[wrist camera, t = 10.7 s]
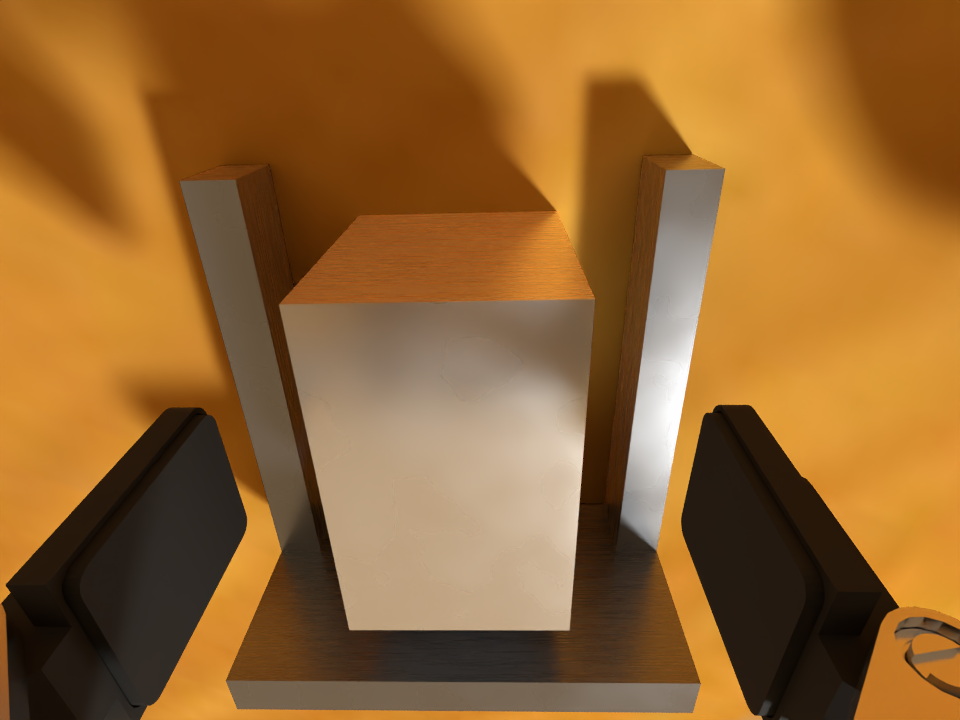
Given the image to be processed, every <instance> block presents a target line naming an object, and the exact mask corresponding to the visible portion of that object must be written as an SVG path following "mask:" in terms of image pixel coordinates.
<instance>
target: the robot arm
mask: <svg viewBox="0 0 960 720" xmlns="http://www.w3.org/2000/svg"><path fill="white" fill-rule="evenodd" d="M681 525H682V532H683V536H684V539H685V542H686V544H687V547H688V550H689V552H690V555H691V557H692V560H693V563H694V565H695V568H696V571H697V573H698V576H699V579H700V581H701V584H702V587H703V589H704V592H705V595H706V597H707V600H708V602H709V605H710V608H711V610H712V613H713V616H714V618H715V621H716V624H717V626H718V629H719V632H720V634H721V637H722V640H723V642H724V645H725V647H726V650H727V653H728V655H729V658H730V661H731V663H732V666H733V669H734V671H735V674H736V677H737V679H738V682H739V685H740V687H741V690H742V692H743V695H744V698H745V700H746V703H747V705H748V707H749V709H750V711H751V712H752V714H754V715H758V716H762V719H763V720H960V621H959V620H957V619H955V618H953V617H951V616H948V615H945V614H943V613H940V612H937V611H935V610H930V609H925V608H919V607H903V608H899V606H898V605H897V603H896V602H895V601H894V599H893V598H892V596H891V595H890V594H889V592H888V591H887V589H886V588H885V587H884V585H883V584H882V582H881V581H880V580H879V578H878V577H877V575H876V574H875V573H874V571H873V570H872V568H871V567H870V566H869V564H868V563H867V561H866V560H865V559H864V557H863V556H862V554H861V553H860V552H859V550H858V549H857V547H856V546H855V545H854V543H853V542H852V540H851V539H850V538H849V536H848V535H847V533H846V532H845V531H844V529H843V528H842V526H841V525H840V524H839V522H838V521H837V519H836V518H835V517H834V515H833V514H832V512H831V511H830V510H829V508H828V507H827V505H826V504H825V503H824V501H823V500H822V498H821V497H820V496H819V494H818V493H817V491H816V490H815V489H814V487H813V486H812V485H811V484H810V483H809V481H808V480H807V479H805V478H803V477H801V475H800V474H799V472H798V471H797V470H796V468H795V467H794V465H793V464H792V462H791V461H790V460H789V458H788V457H787V455H786V454H785V453H784V451H783V450H782V448H781V447H780V445H779V444H778V443H777V441H776V440H775V438H774V437H773V435H772V434H771V433H770V431H769V430H768V428H767V427H766V426H765V424H764V423H763V421H762V420H761V418H760V417H759V416H758V414H757V413H756V411H755V410H754V409H753V408H752V407H751V406H749V405H718V406H716V407H715V408H714V410H713V413H706V414H705V415H704V417H703V421H702V425H701V430H700V434H699V439H698V444H697V448H696V453H695V457H694V462H693V467H692V471H691V476H690V480H689V485H688V490H687V494H686V499H685V503H684V508H683V513H682V518H681ZM246 527H247V516H246V512H245V509H244V506H243V503H242V500H241V497H240V494H239V491H238V488H237V485H236V482H235V479H234V476H233V473H232V470H231V467H230V463H229V460H228V457H227V454H226V451H225V448H224V445H223V442H222V439H221V436H220V433H219V430H218V427H217V424H216V421H215V419H214V418H213V417H212V416H211V415H207V414H206V412H205V411H204V410H203V409H202V408H168V409H167V410H165V411H164V412H163V413H162V414H161V415H160V416H159V418H158V419H157V420H156V421H155V422H154V423H153V424H152V425H151V426H150V427H149V429H148V430H147V431H146V432H145V433H144V434H143V435H142V436H141V437H140V438H139V439H138V441H137V442H136V443H135V444H134V445H133V446H132V447H131V448H130V449H129V450H128V451H127V453H126V454H125V455H124V456H123V457H122V458H121V459H120V460H119V461H118V462H117V464H116V465H115V466H114V467H113V468H112V469H111V470H110V471H109V472H108V473H107V474H106V476H105V477H104V478H103V479H102V480H101V481H100V482H99V483H98V484H97V485H96V486H95V488H94V489H93V490H92V491H91V492H90V493H89V494H88V495H87V496H86V497H85V499H84V500H83V501H82V502H81V503H80V504H79V505H78V506H77V507H76V508H75V509H74V511H73V512H72V513H71V514H70V515H69V516H68V517H67V518H66V519H65V520H64V521H63V523H62V524H61V525H60V526H59V527H58V528H57V529H56V530H55V531H54V532H53V534H52V535H51V536H50V537H49V538H48V539H47V540H46V541H45V542H44V543H43V544H42V546H41V547H40V548H39V549H38V550H37V551H36V552H35V553H34V554H33V555H32V556H31V558H30V559H29V560H28V561H27V562H26V563H25V564H24V565H23V566H22V567H21V569H20V570H19V571H18V572H17V573H16V574H15V575H14V576H13V577H12V578H11V579H10V581H9V582H8V583H7V584H6V587H7V588H8V589H9V591H10V592H11V593H10V594H9V595H8V596H7V598H6V599H5V600H4V601H3V602H2V603H1V604H0V720H140V719H141V717H142V715H143V713H144V711H145V709H146V707H147V705H152V704H154V703H155V702H156V701H157V700H158V698H159V697H160V695H161V694H162V692H163V690H164V688H165V686H166V684H167V682H168V680H169V678H170V676H171V674H172V672H173V671H174V669H175V667H176V665H177V663H178V661H179V659H180V657H181V655H182V653H183V651H184V649H185V647H186V646H187V644H188V642H189V640H190V638H191V636H192V634H193V632H194V630H195V628H196V626H197V624H198V622H199V621H200V619H201V617H202V615H203V613H204V611H205V609H206V607H207V605H208V603H209V601H210V599H211V597H212V596H213V594H214V592H215V590H216V588H217V586H218V584H219V582H220V580H221V578H222V576H223V574H224V572H225V571H226V569H227V567H228V565H229V563H230V561H231V559H232V557H233V555H234V553H235V551H236V549H237V547H238V546H239V544H240V542H241V540H242V538H243V536H244V534H245V531H246Z"/></svg>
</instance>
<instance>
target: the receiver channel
mask: <svg viewBox="0 0 960 720" xmlns="http://www.w3.org/2000/svg"><path fill="white" fill-rule="evenodd" d="M724 172H725V169H724V168H722V167H720V166H718V165H716V164H713V163H711V162H709V161H707V160H705V159H702V158H700V157H698V156H696V155H656V156H643V158H642V167H641V176H640V185H639V194H638V203H637V213H636V222H635V231H634V240H633V249H632V258H631V267H630V276H629V285H628V294H627V303H626V312H625V322H624V331H623V340H622V349H621V358H620V367H619V376H618V385H617V394H616V403H615V412H614V421H613V430H612V440H611V449H610V458H609V467H608V476H607V485H606V494H605V503H604V504H579V515H578V528H577V541H576V554H575V567H574V580H573V592H572V605H571V618H570V630H349V626H348V621H347V616H346V612H345V607H344V603H343V598H342V593H341V589H340V584H339V580H338V575H337V570H336V566H335V561H334V557H333V552H332V547H331V543H330V538H329V533H328V529H327V524H326V520H325V515H324V510H323V506H322V501H321V497H320V492H319V487H318V483H317V478H316V473H315V469H314V464H313V460H312V455H311V450H310V446H309V441H308V437H307V432H306V427H305V423H304V418H303V414H302V409H301V404H300V400H299V395H298V390H297V386H296V381H295V377H294V372H293V367H292V363H291V358H290V354H289V349H288V344H287V340H286V335H285V331H284V326H283V321H282V317H281V312H280V307H279V304H280V303H281V302H282V301H283V300H284V298H285V297H286V296H287V295H288V294H289V293H290V292H291V291H292V289H293V288H294V286H293V281H292V276H291V271H290V266H289V261H288V256H287V251H286V246H285V241H284V236H283V231H282V226H281V221H280V216H279V211H278V206H277V201H276V196H275V190H274V185H273V180H272V175H271V170H270V165H269V164H268V165H225V166H218V167H216V168H213V169H210V170H208V171H205V172H202V173H199V174H197V175H194V176H191V177H189V178H186V179H183V180H181V181H179V182H180V185H181V189H182V193H183V196H184V200H185V203H186V207H187V211H188V214H189V218H190V222H191V225H192V229H193V232H194V236H195V240H196V243H197V247H198V250H199V254H200V258H201V261H202V265H203V268H204V272H205V276H206V279H207V283H208V287H209V290H210V294H211V297H212V301H213V305H214V308H215V312H216V315H217V319H218V323H219V326H220V330H221V333H222V337H223V341H224V344H225V348H226V352H227V355H228V359H229V362H230V366H231V370H232V373H233V377H234V380H235V384H236V388H237V391H238V395H239V398H240V402H241V406H242V409H243V413H244V417H245V420H246V424H247V427H248V431H249V435H250V438H251V442H252V445H253V449H254V453H255V456H256V460H257V463H258V467H259V471H260V474H261V478H262V482H263V485H264V489H265V492H266V496H267V500H268V503H269V507H270V510H271V514H272V518H273V521H274V525H275V528H276V532H277V536H278V539H279V543H280V547H281V550H282V552H281V555H280V557H279V559H278V562H277V564H276V566H275V569H274V571H273V573H272V575H271V578H270V580H269V582H268V585H267V587H266V589H265V592H264V594H263V596H262V599H261V601H260V603H259V605H258V608H257V610H256V612H255V615H254V617H253V619H252V622H251V624H250V626H249V628H248V631H247V633H246V635H245V638H244V640H243V642H242V645H241V647H240V649H239V652H238V654H237V656H236V658H235V661H234V663H233V665H232V668H231V670H230V672H229V675H228V677H227V679H226V682H227V685H228V687H229V690H230V692H231V694H232V697H233V699H234V702H235V704H236V707H237V709H290V710H414V711H537V712H661V713H693V710H694V706H695V702H696V699H697V695H698V692H699V688H700V684H701V683H700V680H699V677H698V674H697V671H696V668H695V665H694V662H693V659H692V656H691V653H690V650H689V647H688V644H687V641H686V638H685V635H684V632H683V629H682V626H681V623H680V620H679V617H678V614H677V611H676V608H675V605H674V602H673V599H672V596H671V593H670V590H669V587H668V584H667V581H666V578H665V575H664V572H663V569H662V566H661V563H660V560H659V558H658V555H657V552H656V551H657V545H658V539H659V534H660V528H661V523H662V517H663V512H664V506H665V501H666V495H667V489H668V484H669V478H670V473H671V467H672V462H673V456H674V450H675V445H676V439H677V434H678V428H679V423H680V417H681V412H682V406H683V400H684V395H685V389H686V384H687V378H688V373H689V367H690V361H691V356H692V350H693V345H694V339H695V334H696V328H697V323H698V317H699V311H700V306H701V300H702V295H703V289H704V284H705V278H706V273H707V267H708V261H709V256H710V250H711V245H712V239H713V234H714V228H715V222H716V217H717V211H718V206H719V200H720V195H721V189H722V184H723V178H724Z"/></svg>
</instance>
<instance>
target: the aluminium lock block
mask: <svg viewBox="0 0 960 720" xmlns="http://www.w3.org/2000/svg"><path fill="white" fill-rule="evenodd" d="M279 307H280V312H281V317H282V321H283V326H284V331H285V335H286V340H287V344H288V349H289V354H290V358H291V363H292V367H293V372H294V377H295V381H296V386H297V390H298V395H299V400H300V404H301V409H302V414H303V418H304V423H305V427H306V432H307V437H308V441H309V446H310V450H311V455H312V460H313V464H314V469H315V473H316V478H317V483H318V487H319V492H320V497H321V501H322V506H323V510H324V515H325V520H326V524H327V529H328V533H329V538H330V543H331V547H332V552H333V557H334V561H335V566H336V570H337V575H338V580H339V584H340V589H341V593H342V598H343V603H344V607H345V612H346V616H347V621H348V626H349V630H570V618H571V605H572V592H573V580H574V567H575V554H576V541H577V528H578V515H579V502H580V489H581V477H582V464H583V451H584V438H585V425H586V412H587V399H588V386H589V374H590V361H591V348H592V335H593V322H594V309H595V297H594V295H593V293H592V290H591V288H590V286H589V284H588V281H587V279H586V277H585V275H584V272H583V270H582V268H581V265H580V263H579V261H578V259H577V256H576V254H575V252H574V249H573V247H572V245H571V243H570V240H569V238H568V236H567V233H566V231H565V229H564V227H563V224H562V222H561V220H560V217H559V215H558V213H557V211H532V212H487V213H442V214H398V215H359V216H358V217H357V218H356V219H355V220H354V221H353V223H352V224H351V225H350V226H349V227H348V228H347V229H346V230H345V231H344V233H343V234H342V235H341V236H340V237H339V238H338V239H337V240H336V242H335V243H334V244H333V245H332V246H331V247H330V248H329V249H328V250H327V252H326V253H325V254H324V255H323V256H322V257H321V258H320V259H319V260H318V262H317V263H316V264H315V265H314V266H313V267H312V268H311V269H310V271H309V272H308V273H307V274H306V275H305V276H304V277H303V278H302V279H301V281H300V282H299V283H298V284H297V285H296V286H295V287H294V288H293V289H292V291H291V292H290V293H289V294H288V295H287V296H286V297H285V298H284V300H283V301H282V302H281V303H280V304H279Z"/></svg>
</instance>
